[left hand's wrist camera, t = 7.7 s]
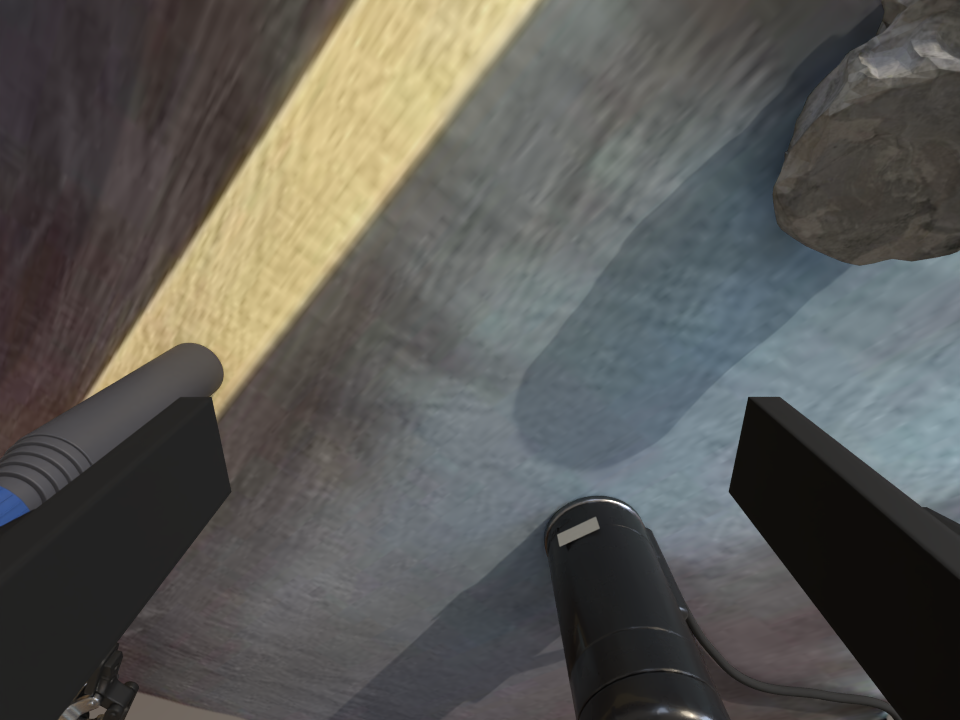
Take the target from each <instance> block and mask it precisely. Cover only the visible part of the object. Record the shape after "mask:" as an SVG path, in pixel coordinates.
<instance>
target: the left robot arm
mask: <svg viewBox="0 0 960 720" xmlns="http://www.w3.org/2000/svg"><path fill="white" fill-rule="evenodd" d="M230 493H231V488H230V483H229V478H228V473H227V469H226V464H225V459H224V454H223V449H222V445H221V440H220V435H219V430H218V425H217V420H216V416H215V411H214V406H213V401H212V397H180V398H178V399H177V400H176V401H174V402H173V403H172V404H171V405H169V406H168V407H167V408H165V409H164V410H163V411H162V412H160V413H159V414H158V415H156V416H155V417H154V418H152V419H151V420H150V421H149V422H147V423H146V424H145V425H143V426H142V427H141V428H140V429H138V430H137V431H136V432H134V433H133V434H132V435H131V436H129V437H128V438H127V439H125V440H124V441H123V442H121V443H120V444H119V445H118V446H116V447H115V448H114V449H112V450H111V451H110V452H109V453H107V454H106V455H105V456H103V457H102V458H101V459H100V460H98V461H97V462H96V463H94V464H93V465H92V466H90V467H89V468H88V469H87V470H85V471H84V472H83V473H81V474H80V475H79V476H78V477H76V478H75V479H74V480H72V481H71V482H70V483H69V484H67V485H66V486H65V487H63V488H62V489H61V490H60V491H58V492H57V493H56V494H54V495H53V496H52V497H50V498H49V499H48V500H47V501H45V502H44V503H43V504H41V505H40V506H39V507H38V508H36V509H33V510H31V511H29V512H27V513H25V514H23V515H21V516H20V517H18V518H16V519H14V520H12V521H10V522H8V523H6V524H4V525H2V526H0V720H58V719H59V718H60V716H61V715H62V714H63V712H64V711H65V710H66V709H67V707H68V706H69V705H70V703H71V702H72V701H73V699H74V698H75V697H76V695H77V694H78V693H79V691H80V690H81V689H82V687H83V686H84V685H85V684H86V682H87V681H88V680H89V678H90V677H91V676H92V674H93V673H94V672H95V670H96V669H97V668H98V666H99V665H100V664H101V662H102V661H103V660H104V659H105V657H106V656H107V655H108V653H109V652H110V651H111V649H112V648H113V647H114V645H115V644H116V643H117V641H118V640H119V639H120V638H121V636H122V635H123V634H124V632H125V631H126V630H127V628H128V627H129V626H130V624H131V623H132V622H133V620H134V619H135V618H136V616H137V615H138V614H139V613H140V611H141V610H142V609H143V607H144V606H145V605H146V603H147V602H148V601H149V599H150V598H151V597H152V595H153V594H154V593H155V591H156V590H157V589H158V588H159V586H160V585H161V584H162V582H163V581H164V580H165V578H166V577H167V576H168V574H169V573H170V572H171V570H172V569H173V568H174V567H175V565H176V564H177V563H178V561H179V560H180V559H181V557H182V556H183V555H184V553H185V552H186V551H187V549H188V548H189V547H190V545H191V544H192V543H193V542H194V540H195V539H196V538H197V536H198V535H199V534H200V532H201V531H202V530H203V528H204V527H205V526H206V524H207V523H208V522H209V520H210V519H211V518H212V517H213V515H214V514H215V513H216V511H217V510H218V509H219V507H220V506H221V505H222V503H223V502H224V501H225V499H226V498H227V497H228V496H229V494H230ZM729 493H730V494H731V496H732V497H733V498H734V499H735V501H736V502H737V503H738V505H739V506H740V507H741V509H742V510H743V511H744V513H745V514H746V515H747V517H748V518H749V519H750V520H751V522H752V523H753V524H754V526H755V527H756V528H757V530H758V531H759V532H760V534H761V535H762V536H763V538H764V539H765V540H766V542H767V543H768V544H769V545H770V547H771V548H772V549H773V551H774V552H775V553H776V555H777V556H778V557H779V559H780V560H781V561H782V563H783V564H784V565H785V567H786V568H787V569H788V570H789V572H790V573H791V574H792V576H793V577H794V578H795V580H796V581H797V582H798V584H799V585H800V586H801V588H802V589H803V590H804V591H805V593H806V594H807V595H808V597H809V598H810V599H811V601H812V602H813V603H814V605H815V606H816V607H817V609H818V610H819V611H820V613H821V614H822V615H823V616H824V618H825V619H826V620H827V622H828V623H829V624H830V626H831V627H832V628H833V630H834V631H835V632H836V634H837V635H838V636H839V638H840V639H841V640H842V641H843V643H844V644H845V645H846V647H847V648H848V649H849V651H850V652H851V653H852V655H853V656H854V657H855V659H856V660H857V661H858V662H859V664H860V665H861V666H862V668H863V669H864V670H865V672H866V673H867V674H868V676H869V677H870V678H871V680H872V681H873V682H874V684H875V685H876V686H877V687H878V689H879V690H880V691H881V693H882V694H883V695H884V697H885V698H886V699H887V701H888V702H889V703H890V705H891V706H892V707H893V709H894V710H895V711H896V712H897V714H898V715H899V716H900V718H901V719H902V720H960V524H958V523H956V522H954V521H953V520H951V519H949V518H947V517H945V516H943V515H941V514H939V513H937V512H935V511H933V510H931V509H929V508H927V507H921V506H920V505H919V504H917V503H916V502H915V501H913V500H912V499H911V498H910V497H908V496H907V495H906V494H904V493H903V492H902V491H900V490H899V489H898V488H897V487H895V486H894V485H893V484H891V483H890V482H889V481H888V480H886V479H885V478H884V477H882V476H881V475H880V474H879V473H877V472H876V471H875V470H873V469H872V468H871V467H869V466H868V465H867V464H866V463H864V462H863V461H862V460H860V459H859V458H858V457H857V456H855V455H854V454H853V453H851V452H850V451H849V450H848V449H846V448H845V447H844V446H842V445H841V444H840V443H839V442H837V441H836V440H835V439H833V438H832V437H831V436H829V435H828V434H827V433H826V432H824V431H823V430H822V429H820V428H819V427H818V426H817V425H815V424H814V423H813V422H811V421H810V420H809V419H808V418H806V417H805V416H804V415H802V414H801V413H800V412H798V411H797V410H796V409H795V408H793V407H792V406H791V405H789V404H788V403H787V402H786V401H784V400H783V399H782V398H780V397H748V401H747V406H746V411H745V416H744V420H743V425H742V430H741V435H740V440H739V444H738V449H737V454H736V459H735V464H734V469H733V473H732V478H731V483H730V488H729Z"/></svg>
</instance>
